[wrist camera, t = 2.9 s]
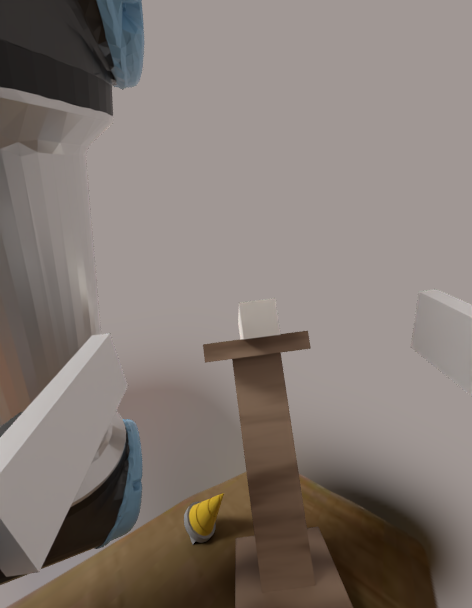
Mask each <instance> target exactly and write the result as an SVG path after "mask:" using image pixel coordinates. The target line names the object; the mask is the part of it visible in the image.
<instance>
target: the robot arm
mask: <svg viewBox="0 0 472 608" xmlns="http://www.w3.org/2000/svg"><path fill="white" fill-rule="evenodd" d="M143 55H144V32H143V14H142V3H141V0H0V585H2V584H4V583H7V582H10V581H12V580H14V579H17V578H20V577H22V576H25V575H27V574H30V573H37V572H40V569H42V568H45V567H47V566H50V565H53V564H55V563H57V562H60V561H63V560H65V559H68V558H70V557H73V556H75V555H78V554H80V553H83V552H85V551H88V550H91V549H93V548H95V549H98V548H101V547H104V545H107V544H108V543H109V542H110V541H111V540H114V539H116V538H118V537H120V536H123V535H124V534H126V533H128V532H129V531H130V530H131V529H132V528H133V526H134V525H135V523H136V521H137V518H138V515H139V512H140V506H141V498H142V484H141V478H142V453H141V443H140V437H139V432H138V428H137V425H136V424H135V422H134V421H132V420H129V419H126V420H124V419H122V417H121V415H120V414H119V413H118V412H117V408H118V406H119V404H120V401H121V399H122V397H123V395H124V393H125V391H126V389H127V387H128V385H127V382H126V379H125V376H124V373H123V370H122V367H121V364H120V361H119V358H118V355H117V352H116V349H115V346H114V343H113V340H112V337H111V334H110V333H107V334H101V326H100V314H99V303H98V291H97V279H96V268H95V257H94V245H93V233H92V222H91V209H90V198H89V187H88V175H87V163H86V154H87V150H88V148H89V146H90V145H91V143H92V142H94V141H95V140H96V139H97V138H98V137H99V136H100V135H101V134H102V133H103V132H104V131H105V130H106V129H107V128H108V127H109V126H110V125H111V124H113V107H112V85H113V86H114V87H119V88H121V89H124V88H126V87H134V86H136V85H137V84H138V82H139V80H140V77H141V73H142V67H143ZM411 348H412V349H413V350H415V351H416V352H417V353H418V354H420V355H421V356H422V357H423V358H425V359H426V360H427V361H428V362H430V363H431V364H432V365H433V366H435V367H436V368H437V369H438V370H439V371H441V372H442V373H443V374H445V375H446V376H447V377H448V378H449V379H451V380H452V381H453V382H454V383H456V384H457V385H458V386H459V387H461V388H462V389H463V390H465V391H466V392H467V393H468V394H469V395H471V396H472V305H471V304H469V303H467V302H465V301H462V300H460V299H458V298H456V297H453V296H451V295H449V294H446V293H444V292H442V291H440V290H437V289H434V290H426V291H419V293H418V300H417V308H416V314H415V322H414V328H413V335H412V343H411Z"/></svg>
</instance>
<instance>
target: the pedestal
mask: <svg viewBox="0 0 472 608" xmlns="http://www.w3.org/2000/svg"><path fill="white" fill-rule="evenodd" d="M203 347H204V357H205V362H211V361H220V360H227V359H232V360H233V367H234V376H235V384H236V392H237V399H238V407H239V416H240V423H241V431H242V439H243V447H244V455H245V463H246V471H247V479H248V486H249V494H250V502H251V510H252V518H253V526H254V534H255V536H248V537H241V538H236V571H235V608H353V606H352V604H351V601H350V599H349V597H348V594H347V592H346V590H345V588H344V585H343V583H342V581H341V578H340V576H339V574H338V571H337V569H336V567H335V564H334V562H333V560H332V557H331V555H330V553H329V550H328V548H327V546H326V543H325V541H324V539H323V537H322V534H321V532H320V530H319V527H312V528H307V526H306V520H305V513H304V506H303V500H302V493H301V486H300V480H299V473H298V467H297V460H296V453H295V447H294V440H293V433H292V426H291V420H290V414H289V406H288V400H287V394H286V387H285V380H284V373H283V367H282V360H281V353H280V352H287V351H295V350H302V349H310V342H309V336H308V331H303V332H295V333H286V334H281V335H273V336H266V337H258V338H251V339H241V340H233V341H226V342H219V343H211V344H204V345H203Z"/></svg>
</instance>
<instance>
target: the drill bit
mask: <svg viewBox="0 0 472 608" xmlns="http://www.w3.org/2000/svg"><path fill="white" fill-rule="evenodd" d="M223 495H224V494H220V495H218V496H215V497H213V498H210V499H208V500H205V501H203V502H194V503H192V504H191V505H190V506H189V507H188V509H187V510H186V512H185V515H184V525H185V528H186V530H187V532H188V534H189V535H190V539H191V542H192V545H193V544H194V543H195V542H196V541H197V542H200V543H203V542H206V541H208V540H209V539H210V537H211V536H212V535H213V534H214V532H215V527H216V523H215V521H216V518H217V514H218V511H219V508H220V505H221V501H222V498H223Z"/></svg>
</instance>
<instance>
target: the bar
mask: <svg viewBox="0 0 472 608" xmlns="http://www.w3.org/2000/svg"><path fill="white" fill-rule="evenodd" d="M238 323H239V331H240V338H241V339H251V338H258V337H266V336H273V335H281V333H280V327H279V320H278V313H277V307H276V300H275V298H273V299H265V300H257V301H250V302H243V303H239V316H238Z"/></svg>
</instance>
